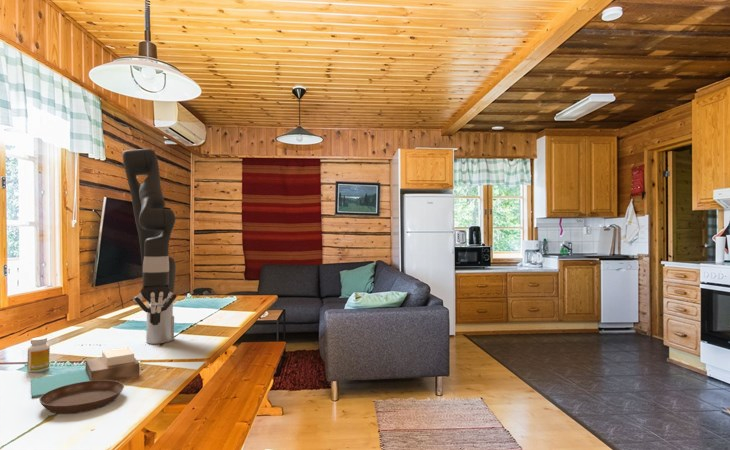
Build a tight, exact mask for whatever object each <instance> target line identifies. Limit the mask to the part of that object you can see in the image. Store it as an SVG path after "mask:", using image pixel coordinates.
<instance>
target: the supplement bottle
mask: <svg viewBox="0 0 730 450" xmlns="http://www.w3.org/2000/svg"><path fill="white" fill-rule="evenodd" d="M30 344H31V345H29V346H28V348H27V363H26V364H27V367H26V368H27V372H28V373H39V372H44V371H47V370H49V368H50V350H51V349H50V344H48V337H46V336H39V337H38V336H37V337H33V338H31V339H30Z"/></svg>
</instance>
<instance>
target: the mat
mask: <svg viewBox="0 0 730 450" xmlns="http://www.w3.org/2000/svg"><path fill="white" fill-rule="evenodd" d="M86 381H90V380H89V377H88V375H87V373H86V371H85V369H82V370H75V371H70V372H64V373H57V374H52V375H51V374H50V375H46V376H40V377H33V378H31V379H30V387H31V388H30V389H31V399H35V398H40V397H41V396H42V395H43V394H45V393H47V392H49V391H51V390H53V389H56V388H59V387H62V386H66V385H70V384H74V383H79V382H86Z"/></svg>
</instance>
